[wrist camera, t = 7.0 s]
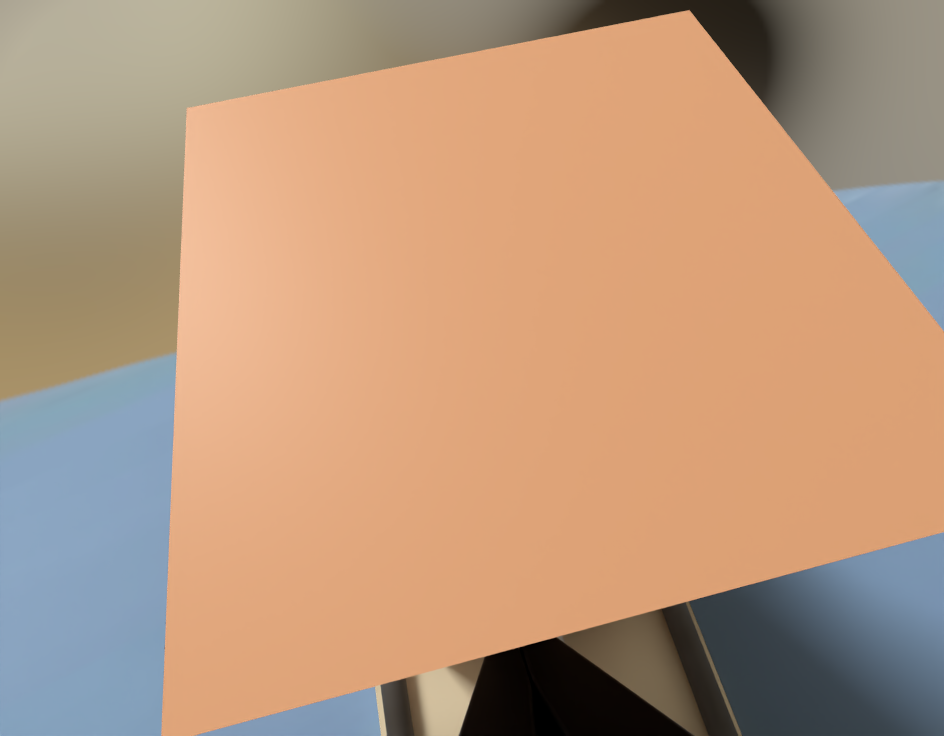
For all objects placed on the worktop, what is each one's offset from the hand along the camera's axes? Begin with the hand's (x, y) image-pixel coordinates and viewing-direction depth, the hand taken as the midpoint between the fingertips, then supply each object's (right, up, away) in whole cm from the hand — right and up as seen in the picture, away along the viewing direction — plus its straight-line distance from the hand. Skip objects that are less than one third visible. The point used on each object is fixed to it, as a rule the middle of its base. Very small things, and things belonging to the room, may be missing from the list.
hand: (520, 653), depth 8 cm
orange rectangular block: (0, 0, +5) cm, 5 cm away
